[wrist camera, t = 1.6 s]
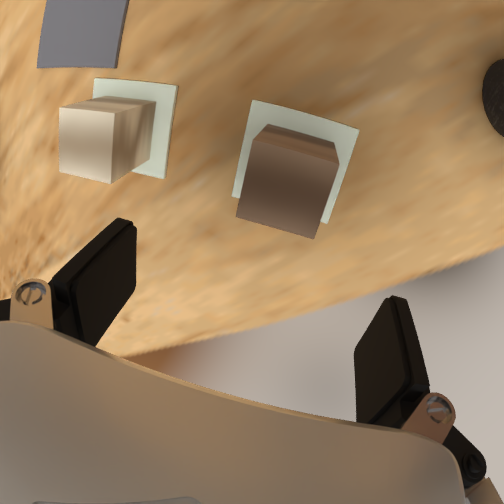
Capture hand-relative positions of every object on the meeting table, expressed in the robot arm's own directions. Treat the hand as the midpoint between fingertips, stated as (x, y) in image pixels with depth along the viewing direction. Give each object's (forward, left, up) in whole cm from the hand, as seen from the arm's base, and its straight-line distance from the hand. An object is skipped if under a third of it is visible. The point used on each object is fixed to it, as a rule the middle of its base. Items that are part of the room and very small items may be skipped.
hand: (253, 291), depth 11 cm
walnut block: (0, 0, -15) cm, 15 cm away
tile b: (0, -14, -15) cm, 21 cm away
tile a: (0, 0, -15) cm, 15 cm away
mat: (-10, -21, -15) cm, 28 cm away
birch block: (0, -14, -15) cm, 20 cm away
